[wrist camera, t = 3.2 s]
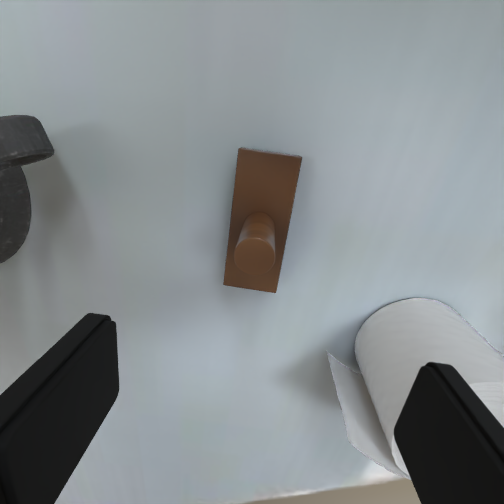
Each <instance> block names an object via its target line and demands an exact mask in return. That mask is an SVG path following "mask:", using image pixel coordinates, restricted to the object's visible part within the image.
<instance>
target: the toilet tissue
mask: <svg viewBox="0 0 504 504" xmlns="http://www.w3.org/2000/svg"><path fill="white" fill-rule="evenodd" d="M354 350H355V356H356V359H357V363H358V365H359V367H360V371H361V373H362V375H360V374H358V373H356V372H354V371H353V370H351V369H350V368H348V367H347V366H345V365H343V364H342V363H340V362H339V361H338V360H336V359H335V358H334V357H333V356H332V355H331V354H330V353H329V352H328V351H327V350H326V352H327V354H328V360H329V362H330V368H331V371H332V376H333V379H334V383H335V386H336V392H337V394H338V399H339V402H340V406H341V410H342V414H343V418H344V422H345V426H346V430H347V436H348V440H349V442H350V443H351V444H352V445H353V446H354V447H355V448H356V449H358V450H359V451H360V452H361V453H363V454H364V455H365V456H367V457H368V458H370V459H371V460H373V461H374V462H376V463H377V464H379V465H382V466H384V467H385V468H386V469H387V470H388V471H390V472H393V473H395V474H398V475H401V476H403V477H405V478H408V479H410V480H411V478H410V475H409V473H408V471H407V468H406V466H405V463H404V461H403V459H402V456H401V454H400V452H399V449H398V447H397V444H396V442H395V439H394V427H395V424H396V422H397V420H398V417H399V415H400V413H401V411H402V408H403V406H404V404H405V401H406V399H407V397H408V395H409V392H410V390H411V388H412V385H413V383H414V381H415V379H416V376H417V374H418V372H419V369H420V368H421V367H422V366H425V365H426V364H427V363H428V362H436V363H443V364H449V365H452V366H453V367H454V368H455V369H456V370H457V371H458V373H459V374H460V375H461V376H462V377H463V379H464V380H465V381H466V382H467V384H468V385H469V386H470V387H471V388H472V390H473V391H474V392H475V393H476V395H477V396H478V397H479V398H480V399H481V401H482V402H483V403H484V404H485V406H486V407H487V408H488V409H489V410H490V412H491V413H492V414H493V415H494V416H495V418H496V419H497V420H498V421H499V423H500V424H501V425H502V426H503V427H504V356H503V355H502V354H501V353H500V352H499V351H497V350H496V349H495V348H494V347H493V346H492V345H491V344H490V343H488V341H487V340H486V339H485V338H484V337H483V336H481V335H480V334H479V332H478V331H477V330H476V329H475V328H473V327H472V326H471V325H470V324H469V323H468V322H467V321H466V320H464V319H463V317H462V316H461V315H460V314H458V313H457V312H456V311H455V310H453V309H452V308H451V307H449V306H447V305H446V304H443V303H441V302H439V301H437V300H430V299H427V298H411V299H407V300H401V301H398V302H395V303H392V304H389V305H387V306H385V307H383V308H381V309H379V310H378V311H377V312H375V313H374V314H373V315H371V316H370V317H369V318H368V319H367V320H366V321H365V322H364V324H363V325H362V327H361V328H360V330H359V331H358V334H357V337H356V339H355V347H354Z"/></svg>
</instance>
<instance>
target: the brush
mask: <svg viewBox="0 0 504 504" xmlns="http://www.w3.org/2000/svg"><path fill="white" fill-rule="evenodd" d="M301 161H302V157H300V156H297V155H290V154H284V153H277V152H270V151H263V150H256V149H250V148H243V147H241V148H239V149H238V158H237V167H236V176H235V185H234V194H233V203H232V212H231V220H230V229H229V238H228V247H227V256H226V265H225V274H224V283H223V284H224V285H226V286H233V287H239V288H246V289H252V290H259V291H265V292H272V293H276V291H277V285H278V280H279V275H280V270H281V265H282V259H283V254H284V249H285V244H286V239H287V233H288V228H289V223H290V218H291V213H292V208H293V202H294V197H295V192H296V187H297V182H298V176H299V171H300V166H301Z"/></svg>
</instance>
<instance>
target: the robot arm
mask: <svg viewBox="0 0 504 504" xmlns="http://www.w3.org/2000/svg"><path fill="white" fill-rule="evenodd" d="M118 392H119V372H118V353H117V333H116V323H115V322H114V321H111V318H110V316H108V315H101V314H94V313H88V314H87V315H85V316H84V317H83V318H82V319H81V320H80V321H79V322H78V323H77V324H76V325H75V326H74V327H73V328H72V329H71V330H70V331H69V332H67V333H66V334H65V335H64V336H63V337H62V338H61V339H60V340H59V341H58V342H57V343H56V344H55V345H54V346H53V347H52V348H50V349H49V350H48V351H47V352H46V353H45V354H44V355H43V356H42V357H41V358H40V359H38V360H37V361H36V362H35V363H34V364H33V365H32V366H31V367H30V368H29V369H28V370H27V371H25V372H24V373H23V374H22V375H21V376H20V377H19V378H18V379H17V380H16V381H15V382H14V383H13V384H12V385H11V386H10V387H8V388H7V389H6V390H5V391H4V392H3V393H2V394H1V395H0V504H54V503H55V501H56V500H57V498H58V496H59V495H60V493H61V491H62V490H63V488H64V486H65V485H66V483H67V481H68V479H69V478H70V476H71V474H72V473H73V471H74V469H75V468H76V466H77V464H78V463H79V461H80V459H81V458H82V456H83V454H84V453H85V451H86V449H87V448H88V446H89V444H90V443H91V441H92V439H93V437H94V436H95V434H96V432H97V431H98V429H99V427H100V426H101V424H102V422H103V421H104V419H105V417H106V416H107V414H108V412H109V411H110V409H111V407H112V406H113V404H114V402H115V400H116V398H117V396H118ZM394 439H395V442H396V444H397V447H398V449H399V452H400V454H401V456H402V459H403V461H404V463H405V466H406V468H407V471H408V473H409V475H410V478H411V480H412V482H413V485H414V487H415V489H416V492H417V494H418V497H419V499H420V501H421V504H504V427H503V426H502V425H501V424H500V423H499V421H498V420H497V419H496V418H495V416H494V415H493V414H492V413H491V412H490V410H489V409H488V408H487V407H486V406H485V404H484V403H483V402H482V401H481V399H480V398H479V397H478V396H477V395H476V393H475V392H474V391H473V390H472V388H471V387H470V386H469V385H468V384H467V382H466V381H465V380H464V379H463V377H462V376H461V375H460V374H459V373H458V371H457V370H456V369H455V368H454V367H453V366H452V365H449V364H443V363H436V362H428V363H427V364H426V365H425V366H422V367H421V368H420V369H419V372H418V374H417V376H416V379H415V381H414V383H413V385H412V388H411V390H410V392H409V395H408V397H407V399H406V401H405V404H404V406H403V408H402V411H401V413H400V415H399V417H398V420H397V422H396V424H395V427H394Z"/></svg>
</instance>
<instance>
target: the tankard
mask: <svg viewBox="0 0 504 504" xmlns="http://www.w3.org/2000/svg"><path fill="white" fill-rule="evenodd" d="M52 155H54V149H53V147H52V145H51V143H50V141H49V139H48V137H47V135H46V132H45V130H44V128H43V126H42V124H41V122H40V121H39V120H38V119H37V118H35V117H33V116H28V115H11V116H2V117H0V263H2V262H4V261H6V260H7V259H8V258H10V257H11V256H12V255H14V254H15V253H16V252H17V250H18V249H19V248H20V246H21V245H22V244H23V242H24V240H25V237H26V235H27V232H28V230H29V224H30V217H31V207H30V195H29V191H28V187H27V183H26V180H25V176H24V174H23V172H22V169H21V167H20V166H22V165H26V164H30V163H34V162H37V161H40V160H43V159H46V158H49V157H51V156H52Z"/></svg>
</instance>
